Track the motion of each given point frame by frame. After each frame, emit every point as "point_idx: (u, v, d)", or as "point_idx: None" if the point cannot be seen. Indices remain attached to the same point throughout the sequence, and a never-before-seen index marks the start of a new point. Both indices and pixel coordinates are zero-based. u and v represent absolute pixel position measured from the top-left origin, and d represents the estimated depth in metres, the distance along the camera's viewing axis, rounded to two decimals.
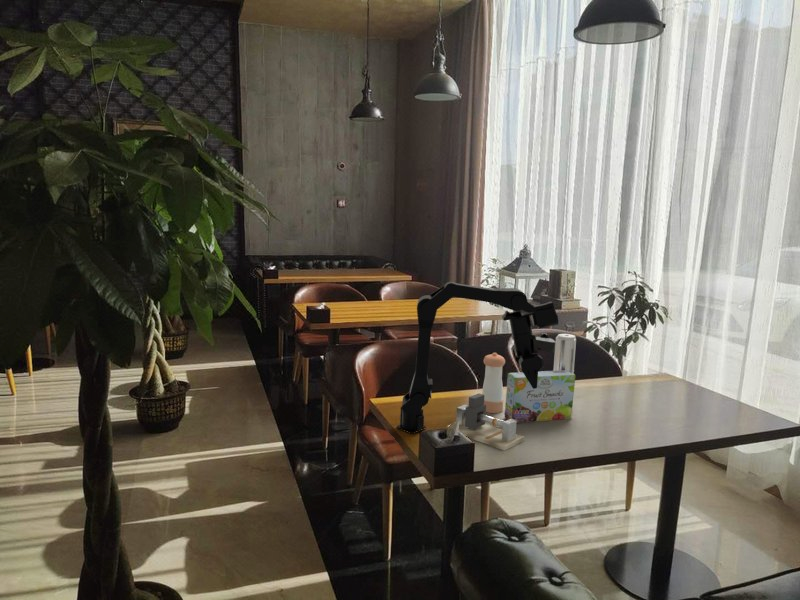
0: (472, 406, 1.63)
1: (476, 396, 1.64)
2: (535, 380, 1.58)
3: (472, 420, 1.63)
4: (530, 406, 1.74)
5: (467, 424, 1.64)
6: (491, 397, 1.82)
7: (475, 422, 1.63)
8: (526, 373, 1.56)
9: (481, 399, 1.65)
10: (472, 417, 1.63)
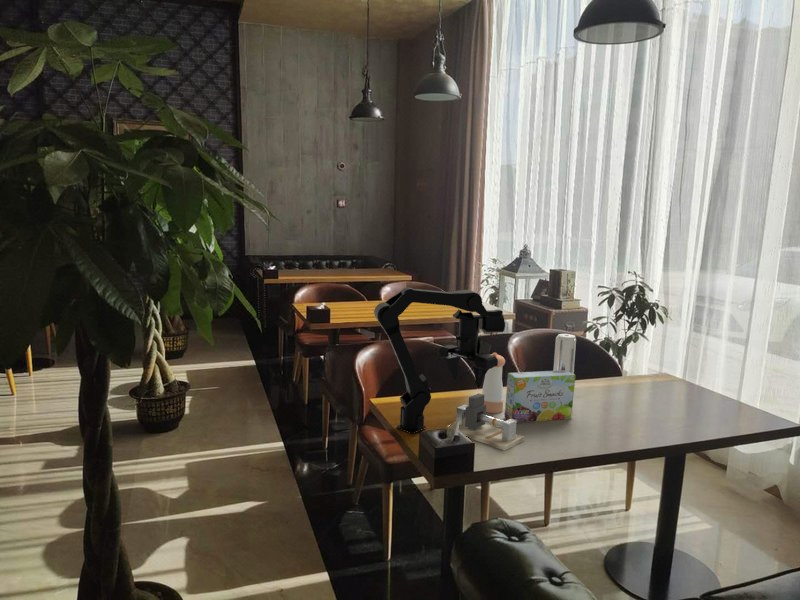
0: (472, 406, 1.63)
1: (476, 396, 1.64)
2: (481, 379, 1.64)
3: (472, 420, 1.63)
4: (530, 406, 1.74)
5: (467, 424, 1.64)
6: (491, 397, 1.82)
7: (475, 422, 1.63)
8: (479, 372, 1.62)
9: (481, 399, 1.65)
10: (472, 417, 1.63)
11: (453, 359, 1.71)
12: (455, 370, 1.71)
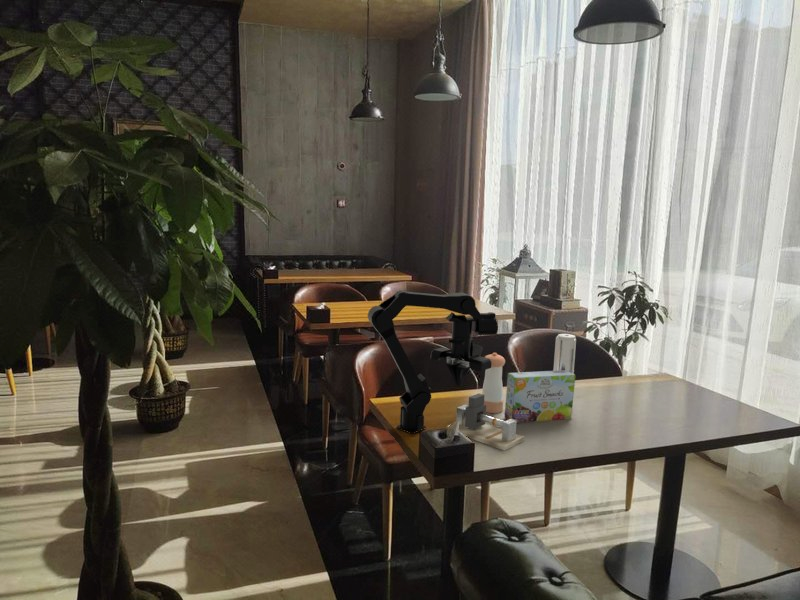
0: (472, 406, 1.63)
1: (476, 396, 1.64)
2: (463, 378, 1.68)
3: (472, 420, 1.63)
4: (530, 406, 1.74)
5: (467, 424, 1.64)
6: (491, 397, 1.82)
7: (475, 422, 1.63)
8: (461, 371, 1.65)
9: (481, 399, 1.65)
10: (472, 417, 1.63)
11: (457, 365, 1.68)
12: None
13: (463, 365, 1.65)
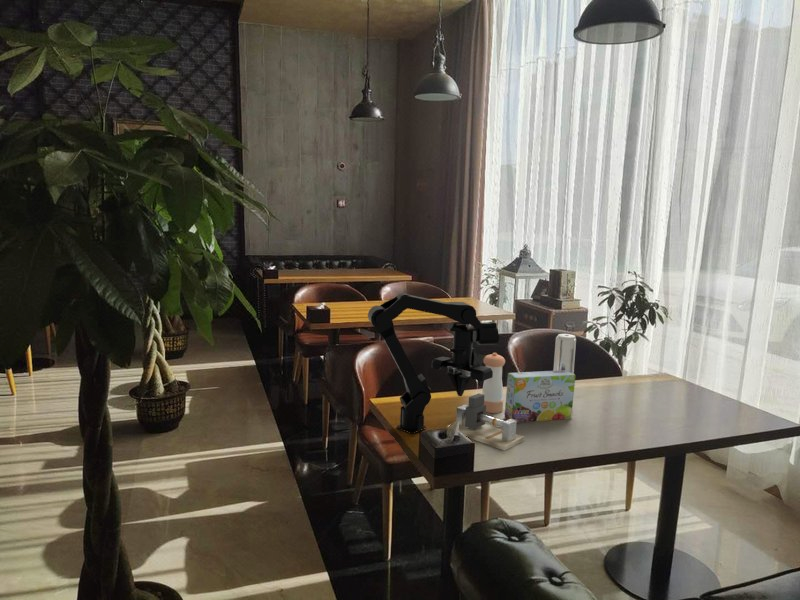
0: (472, 406, 1.63)
1: (476, 396, 1.64)
2: (464, 388, 1.68)
3: (472, 420, 1.63)
4: (530, 406, 1.74)
5: (467, 424, 1.64)
6: (491, 397, 1.82)
7: (475, 422, 1.63)
8: (462, 381, 1.65)
9: (481, 399, 1.65)
10: (472, 417, 1.63)
11: (458, 374, 1.68)
12: None
13: (464, 375, 1.65)
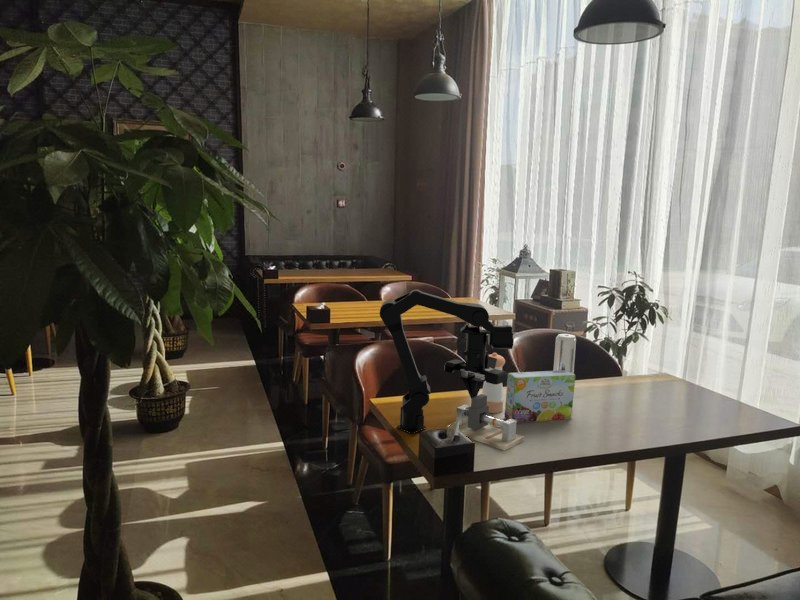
0: (475, 407, 1.62)
1: (478, 397, 1.64)
2: (477, 391, 1.65)
3: (475, 421, 1.62)
4: (530, 406, 1.74)
5: (469, 425, 1.64)
6: (491, 397, 1.82)
7: (478, 423, 1.63)
8: (476, 384, 1.62)
9: (484, 400, 1.64)
10: (475, 418, 1.62)
11: (471, 377, 1.65)
12: None
13: (478, 378, 1.62)
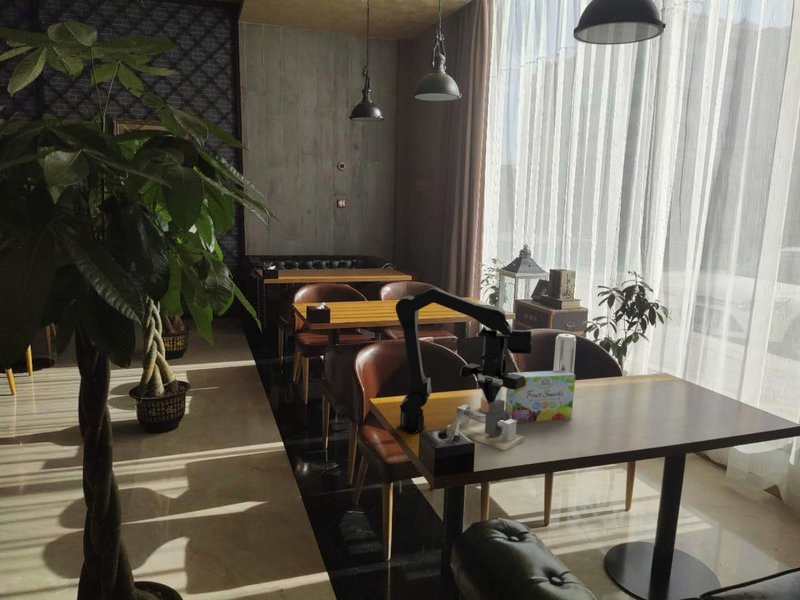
0: (492, 412, 1.58)
1: (496, 402, 1.60)
2: (495, 396, 1.61)
3: (492, 427, 1.58)
4: (530, 406, 1.74)
5: (486, 431, 1.60)
6: None
7: (495, 429, 1.58)
8: (494, 389, 1.58)
9: (501, 405, 1.60)
10: (492, 424, 1.58)
11: (488, 382, 1.61)
12: None
13: (496, 383, 1.58)
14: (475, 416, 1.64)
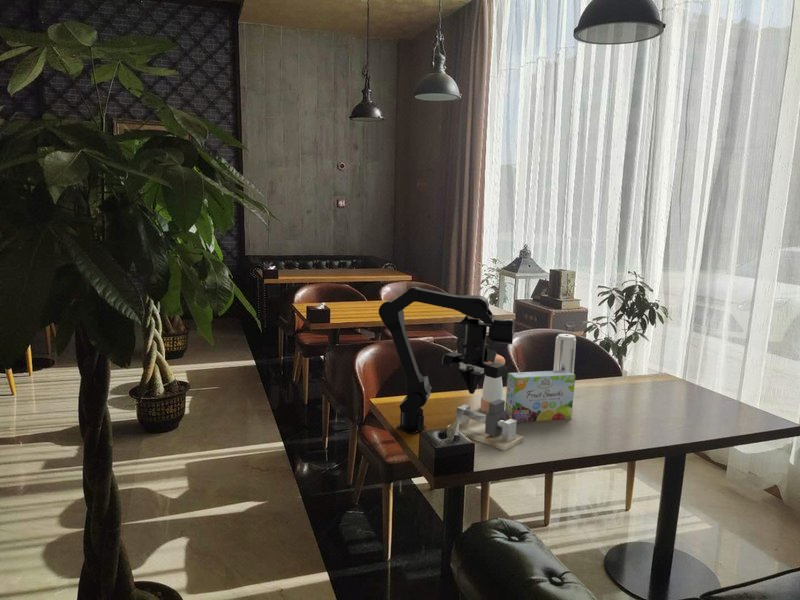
0: (492, 412, 1.58)
1: (496, 402, 1.60)
2: (476, 385, 1.61)
3: (492, 427, 1.58)
4: (530, 406, 1.74)
5: (487, 431, 1.60)
6: (491, 397, 1.82)
7: (495, 429, 1.58)
8: (475, 378, 1.58)
9: (501, 405, 1.60)
10: (492, 424, 1.58)
11: (470, 371, 1.61)
12: None
13: (477, 371, 1.58)
14: (475, 416, 1.64)
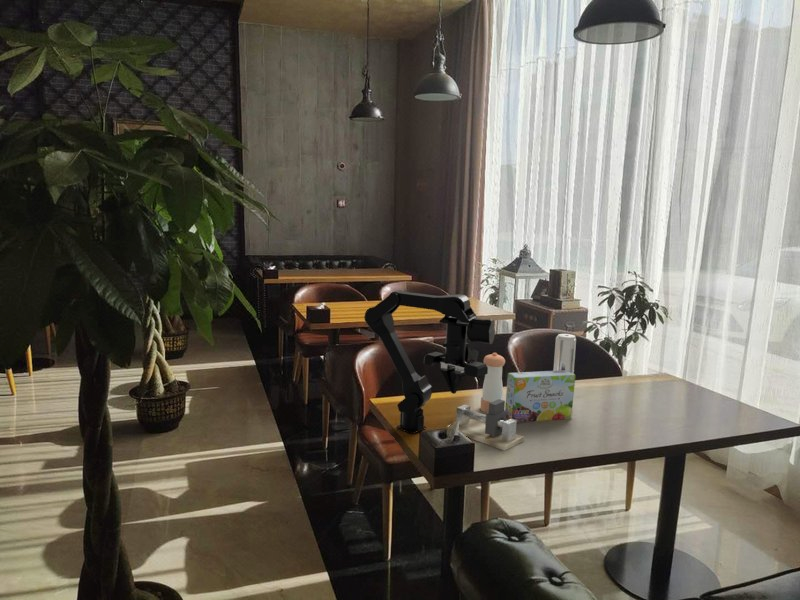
0: (492, 412, 1.58)
1: (496, 402, 1.60)
2: (458, 385, 1.59)
3: (492, 427, 1.58)
4: (530, 406, 1.74)
5: (487, 431, 1.60)
6: (491, 397, 1.82)
7: (495, 429, 1.58)
8: (456, 377, 1.57)
9: (501, 405, 1.60)
10: (492, 424, 1.58)
11: (451, 370, 1.59)
12: None
13: (458, 371, 1.56)
14: (475, 416, 1.64)
